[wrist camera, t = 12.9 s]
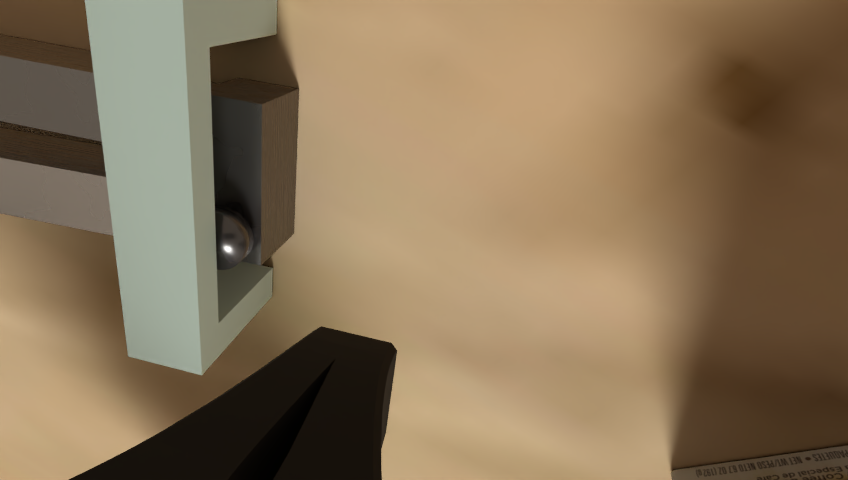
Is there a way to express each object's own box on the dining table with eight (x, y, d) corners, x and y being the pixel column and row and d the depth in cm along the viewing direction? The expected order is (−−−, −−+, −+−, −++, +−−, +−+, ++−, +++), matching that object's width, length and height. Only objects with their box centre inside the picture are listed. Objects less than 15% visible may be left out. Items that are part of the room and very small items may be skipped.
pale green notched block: (272, 296, 21) (202, 375, 17) (211, 282, 21) (128, 356, 17) (277, -10, 16) (182, -7, 12) (200, -22, 17) (81, -23, 12)
